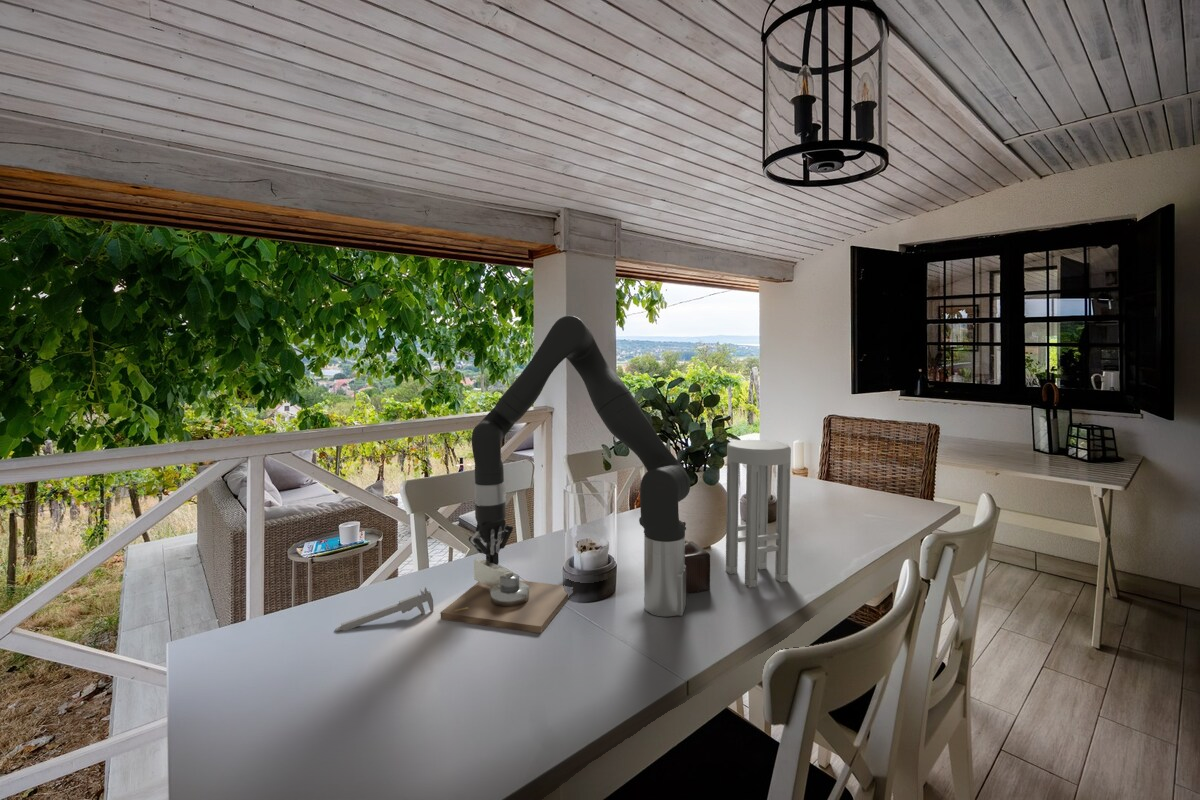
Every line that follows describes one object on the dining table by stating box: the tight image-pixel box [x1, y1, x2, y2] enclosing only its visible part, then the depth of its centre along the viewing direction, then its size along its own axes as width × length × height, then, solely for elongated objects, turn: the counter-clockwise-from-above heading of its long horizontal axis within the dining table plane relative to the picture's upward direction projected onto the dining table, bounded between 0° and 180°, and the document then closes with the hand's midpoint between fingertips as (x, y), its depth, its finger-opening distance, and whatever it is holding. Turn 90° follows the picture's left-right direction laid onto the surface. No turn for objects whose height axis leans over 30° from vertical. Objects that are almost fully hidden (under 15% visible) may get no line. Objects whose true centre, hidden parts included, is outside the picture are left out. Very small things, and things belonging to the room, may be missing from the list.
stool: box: [725, 439, 792, 588], centre depth 148 cm, size 16×16×35 cm
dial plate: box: [439, 579, 569, 634], centre depth 134 cm, size 24×21×2 cm
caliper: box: [334, 586, 434, 633], centre depth 126 cm, size 20×1×6 cm, turn 115°
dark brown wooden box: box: [638, 516, 711, 595], centre depth 143 cm, size 16×11×18 cm
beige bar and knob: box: [473, 557, 530, 606], centre depth 136 cm, size 18×9×6 cm, turn 47°
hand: (492, 567), depth 143 cm, fingers closed
